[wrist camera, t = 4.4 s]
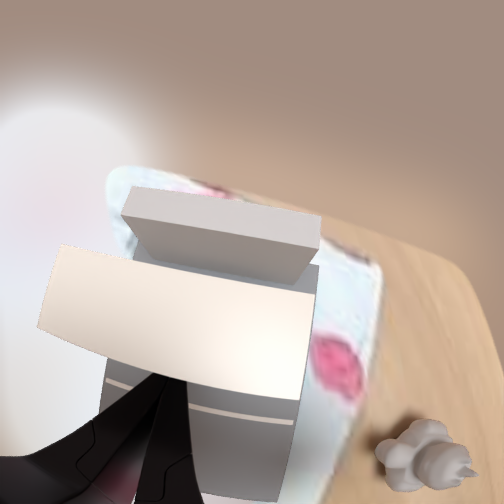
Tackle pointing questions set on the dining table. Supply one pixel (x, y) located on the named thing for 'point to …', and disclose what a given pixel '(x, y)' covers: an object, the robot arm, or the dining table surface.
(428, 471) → the grey lumpy figurine
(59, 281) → the cream upright slab
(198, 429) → the base
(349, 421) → the dining table surface
